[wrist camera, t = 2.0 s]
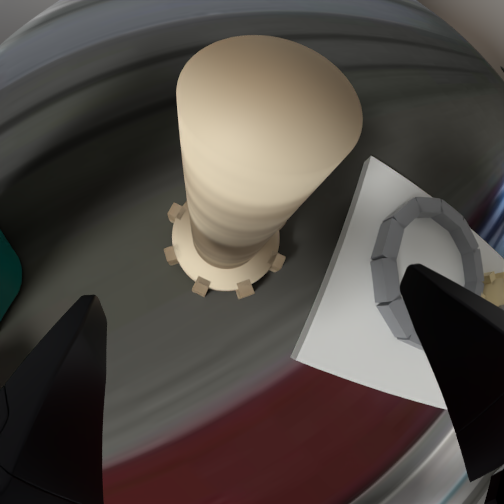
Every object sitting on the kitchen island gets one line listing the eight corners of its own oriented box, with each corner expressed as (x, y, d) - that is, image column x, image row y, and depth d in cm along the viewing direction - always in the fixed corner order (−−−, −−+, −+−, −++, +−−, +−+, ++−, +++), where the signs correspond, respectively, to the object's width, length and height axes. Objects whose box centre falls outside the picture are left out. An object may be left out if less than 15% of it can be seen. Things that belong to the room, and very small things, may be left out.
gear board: (472, 415, 20) (497, 421, 16) (290, 357, 18) (309, 367, 15) (508, 273, 23) (532, 267, 20) (364, 162, 22) (387, 140, 18)
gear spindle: (253, 320, 18) (380, 342, 5) (146, 267, 18) (25, 166, 4) (298, 217, 20) (431, 86, 7) (200, 169, 20) (208, -16, 6)
